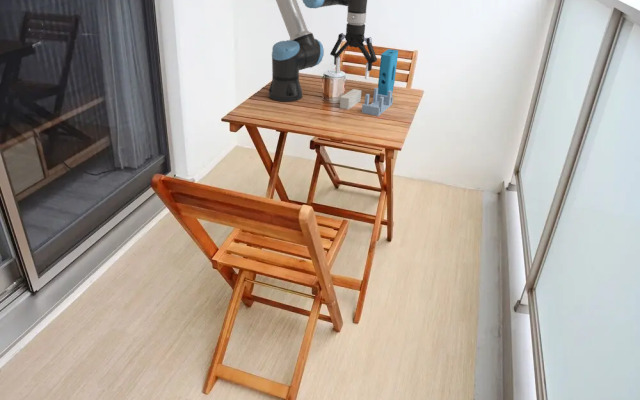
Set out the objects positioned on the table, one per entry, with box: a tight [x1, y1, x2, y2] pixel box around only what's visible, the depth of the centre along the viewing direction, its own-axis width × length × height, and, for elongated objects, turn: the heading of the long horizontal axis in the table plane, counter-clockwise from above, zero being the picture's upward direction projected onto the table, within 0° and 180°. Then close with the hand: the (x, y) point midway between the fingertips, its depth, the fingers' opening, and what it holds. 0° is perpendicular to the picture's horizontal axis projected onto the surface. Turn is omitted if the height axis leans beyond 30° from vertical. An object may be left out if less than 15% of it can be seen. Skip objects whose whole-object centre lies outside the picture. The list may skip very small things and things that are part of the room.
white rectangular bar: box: [339, 88, 362, 111], centre depth 211 cm, size 14×4×5 cm, turn 153°
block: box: [377, 48, 399, 96], centre depth 218 cm, size 12×5×20 cm, turn 158°
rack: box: [361, 87, 394, 117], centre depth 207 cm, size 17×8×7 cm, turn 153°
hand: (351, 75), depth 206 cm, fingers open, 13 cm apart
